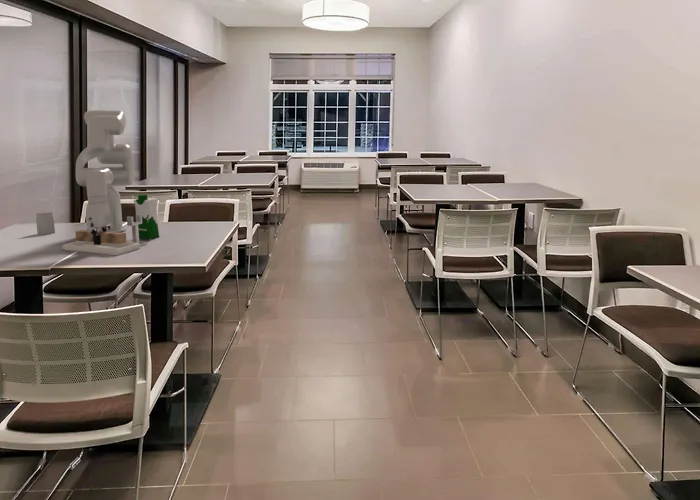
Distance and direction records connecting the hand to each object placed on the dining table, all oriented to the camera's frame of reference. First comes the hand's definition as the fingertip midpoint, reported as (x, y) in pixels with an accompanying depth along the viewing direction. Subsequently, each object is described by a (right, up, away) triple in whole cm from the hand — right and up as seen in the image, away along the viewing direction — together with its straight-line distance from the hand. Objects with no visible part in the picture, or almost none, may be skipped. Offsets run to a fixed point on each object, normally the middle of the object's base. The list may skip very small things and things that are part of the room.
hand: (101, 243), depth 251 cm
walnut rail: (0, +1, 0) cm, 1 cm away
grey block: (-41, +5, +37) cm, 56 cm away
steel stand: (+4, 0, +12) cm, 12 cm away
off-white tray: (0, -3, +1) cm, 3 cm away
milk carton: (+10, +3, +28) cm, 30 cm away
